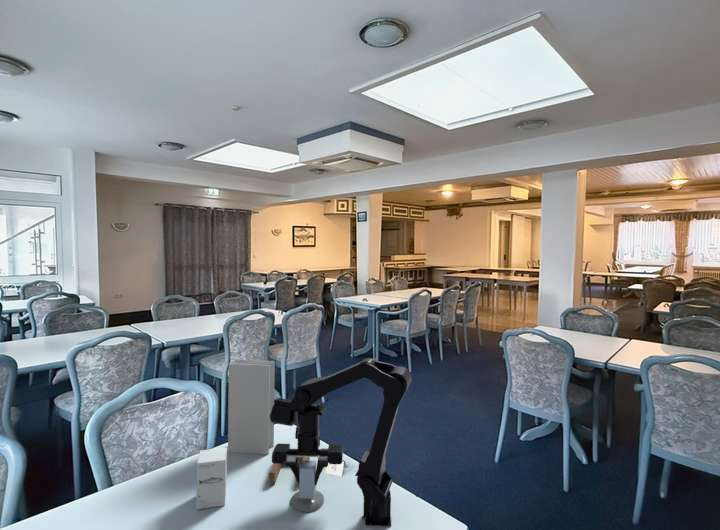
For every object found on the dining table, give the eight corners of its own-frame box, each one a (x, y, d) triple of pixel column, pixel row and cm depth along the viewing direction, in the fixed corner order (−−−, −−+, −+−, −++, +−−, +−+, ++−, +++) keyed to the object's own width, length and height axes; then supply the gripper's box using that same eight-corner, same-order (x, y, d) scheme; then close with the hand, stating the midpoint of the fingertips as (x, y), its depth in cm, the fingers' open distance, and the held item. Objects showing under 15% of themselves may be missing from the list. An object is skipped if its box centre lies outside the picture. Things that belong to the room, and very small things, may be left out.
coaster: (325, 491, 111) (325, 489, 111) (322, 512, 102) (322, 510, 102) (293, 491, 111) (293, 489, 111) (287, 512, 102) (287, 509, 102)
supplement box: (195, 510, 102) (195, 463, 102) (199, 493, 109) (199, 449, 109) (225, 506, 104) (225, 459, 104) (227, 490, 111) (227, 446, 111)
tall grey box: (273, 446, 137) (274, 361, 136) (268, 454, 131) (269, 365, 130) (234, 443, 138) (235, 359, 137) (228, 451, 132) (228, 363, 132)
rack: (309, 461, 127) (309, 450, 127) (303, 485, 114) (304, 473, 114) (278, 460, 127) (278, 450, 127) (269, 484, 114) (269, 472, 114)
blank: (315, 489, 108) (316, 460, 108) (314, 498, 104) (314, 468, 104) (301, 488, 108) (301, 460, 108) (299, 497, 104) (299, 468, 104)
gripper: (343, 415, 114) (343, 468, 114) (280, 415, 114) (279, 467, 114) (342, 433, 103) (341, 491, 103) (271, 432, 103) (271, 490, 103)
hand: (307, 484), depth 106 cm, fingers closed on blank, 4 cm apart
